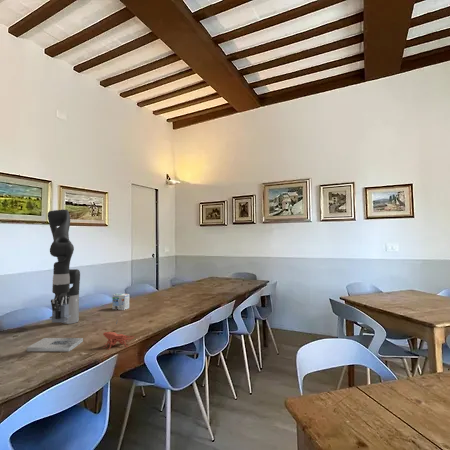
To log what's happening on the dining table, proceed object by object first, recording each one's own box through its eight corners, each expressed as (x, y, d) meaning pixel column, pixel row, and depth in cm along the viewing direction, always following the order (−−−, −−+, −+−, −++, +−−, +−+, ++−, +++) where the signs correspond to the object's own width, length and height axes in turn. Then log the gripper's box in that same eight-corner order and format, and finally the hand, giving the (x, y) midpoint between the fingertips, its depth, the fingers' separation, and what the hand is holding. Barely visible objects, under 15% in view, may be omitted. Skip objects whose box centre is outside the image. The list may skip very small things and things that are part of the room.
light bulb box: (111, 309, 234) (112, 294, 234) (117, 307, 241) (117, 293, 241) (124, 310, 231) (124, 295, 232) (129, 308, 238) (129, 293, 238)
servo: (54, 320, 157) (54, 304, 157) (70, 320, 157) (71, 304, 157) (49, 322, 153) (49, 305, 153) (66, 322, 153) (67, 305, 153)
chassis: (44, 341, 161) (44, 337, 161) (82, 341, 161) (82, 338, 161) (26, 351, 147) (26, 347, 147) (69, 351, 147) (69, 347, 147)
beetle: (101, 351, 149) (101, 324, 149) (104, 342, 161) (105, 317, 161) (134, 348, 152) (134, 322, 153) (135, 340, 164) (135, 316, 165)
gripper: (61, 280, 163) (60, 314, 162) (45, 284, 148) (44, 321, 148) (75, 280, 162) (75, 314, 162) (61, 284, 148) (60, 321, 147)
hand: (60, 317), depth 155 cm, fingers closed on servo, 4 cm apart
